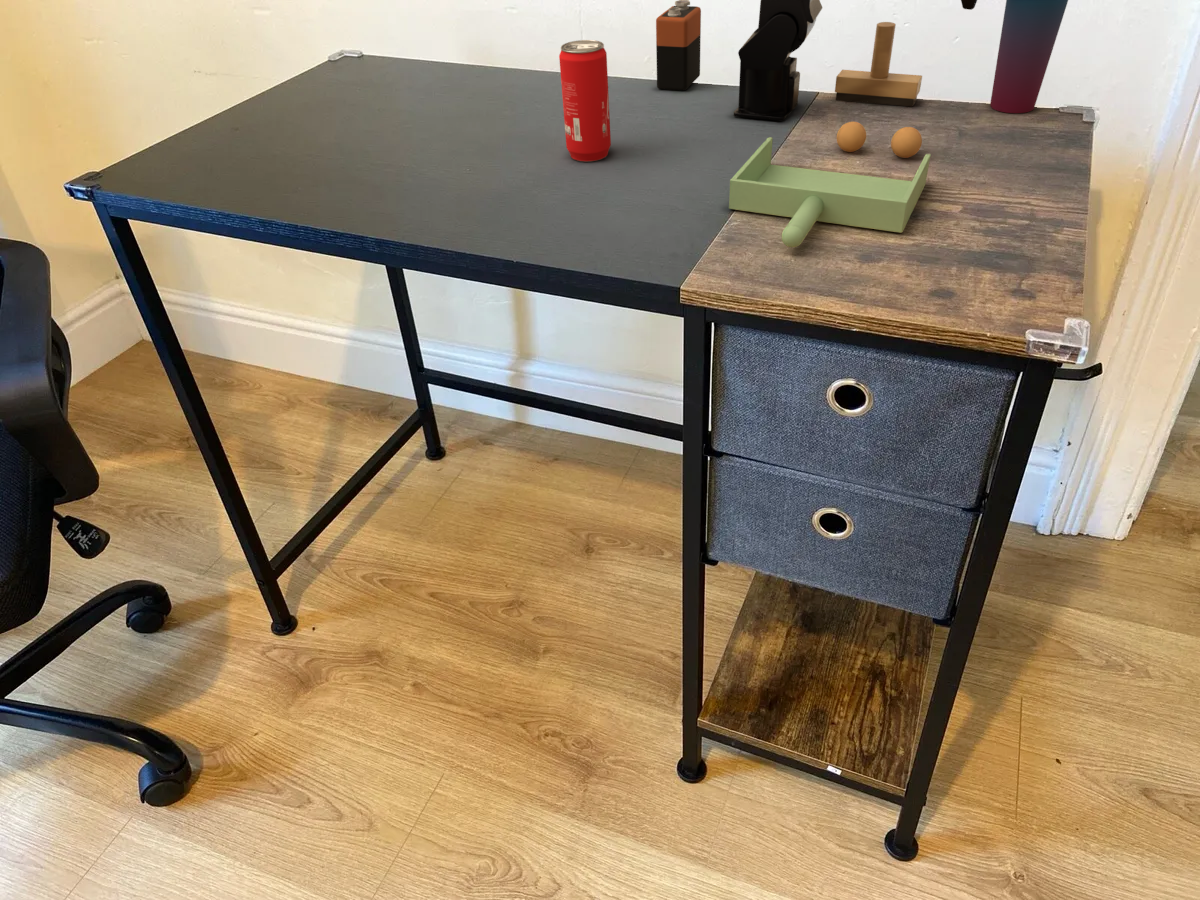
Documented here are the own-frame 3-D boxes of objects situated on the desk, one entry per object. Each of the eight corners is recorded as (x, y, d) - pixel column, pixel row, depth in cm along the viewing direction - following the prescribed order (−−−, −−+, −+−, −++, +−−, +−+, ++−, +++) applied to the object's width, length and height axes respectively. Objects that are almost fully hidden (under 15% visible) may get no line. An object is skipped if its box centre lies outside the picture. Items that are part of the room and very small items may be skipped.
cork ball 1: (831, 154, 99) (835, 125, 97) (839, 144, 101) (842, 116, 99) (860, 157, 97) (864, 128, 95) (867, 147, 100) (871, 118, 98)
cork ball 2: (886, 160, 96) (890, 131, 94) (892, 150, 99) (896, 121, 96) (916, 163, 95) (921, 134, 93) (921, 153, 97) (926, 124, 95)
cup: (1046, 116, 104) (1083, -25, 94) (986, 115, 105) (1016, -24, 96) (1036, 97, 109) (1070, -38, 100) (978, 97, 110) (1007, -37, 101)
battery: (700, 76, 123) (702, -2, 117) (686, 91, 119) (686, 11, 112) (671, 75, 125) (671, -2, 119) (655, 89, 120) (654, 10, 114)
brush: (833, 100, 113) (841, 24, 107) (839, 93, 115) (847, 18, 109) (913, 107, 109) (926, 29, 103) (918, 100, 111) (931, 23, 105)
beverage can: (568, 147, 105) (560, 40, 97) (611, 145, 104) (606, 38, 97) (565, 164, 101) (556, 53, 93) (610, 162, 100) (605, 51, 93)
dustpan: (766, 165, 97) (768, 136, 95) (925, 184, 91) (930, 154, 89) (700, 244, 83) (701, 212, 81) (882, 273, 77) (888, 239, 75)
